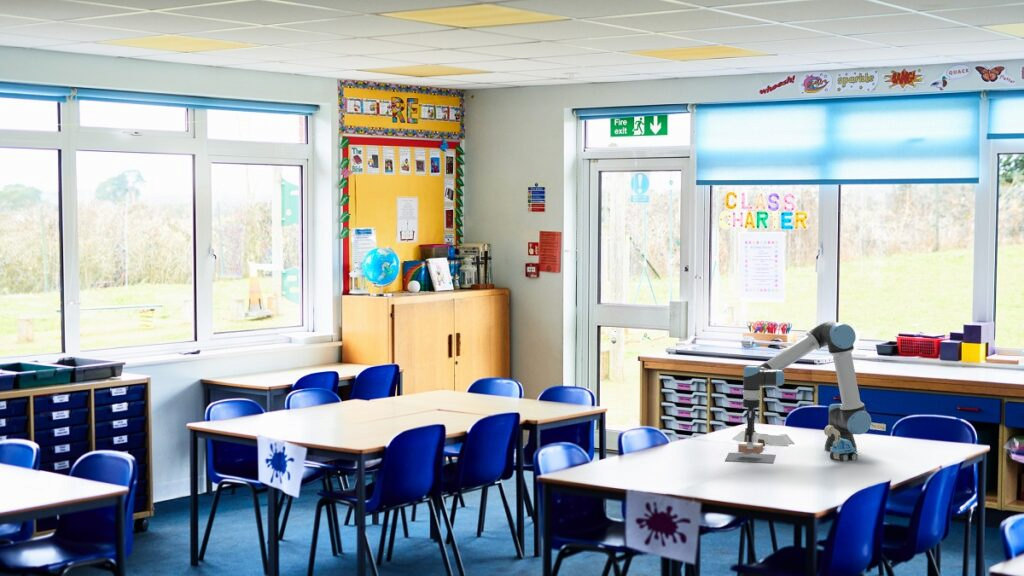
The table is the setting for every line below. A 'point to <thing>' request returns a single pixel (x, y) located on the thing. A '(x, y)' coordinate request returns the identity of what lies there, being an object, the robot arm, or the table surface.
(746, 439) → the wooden block set
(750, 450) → the card deck
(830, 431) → the toy excavator
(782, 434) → the paper sheets
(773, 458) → the rubber mat
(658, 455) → the table surface
